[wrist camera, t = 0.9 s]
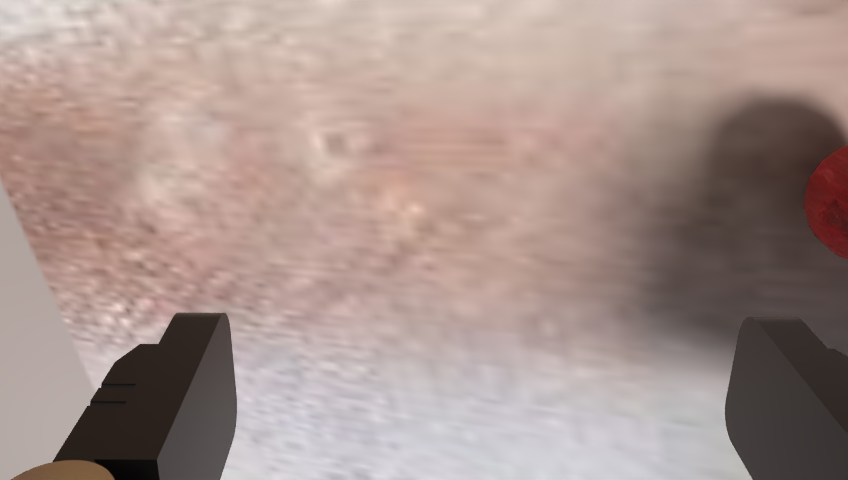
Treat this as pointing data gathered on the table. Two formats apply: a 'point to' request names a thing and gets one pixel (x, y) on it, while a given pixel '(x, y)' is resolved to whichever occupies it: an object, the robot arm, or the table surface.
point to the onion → (829, 202)
